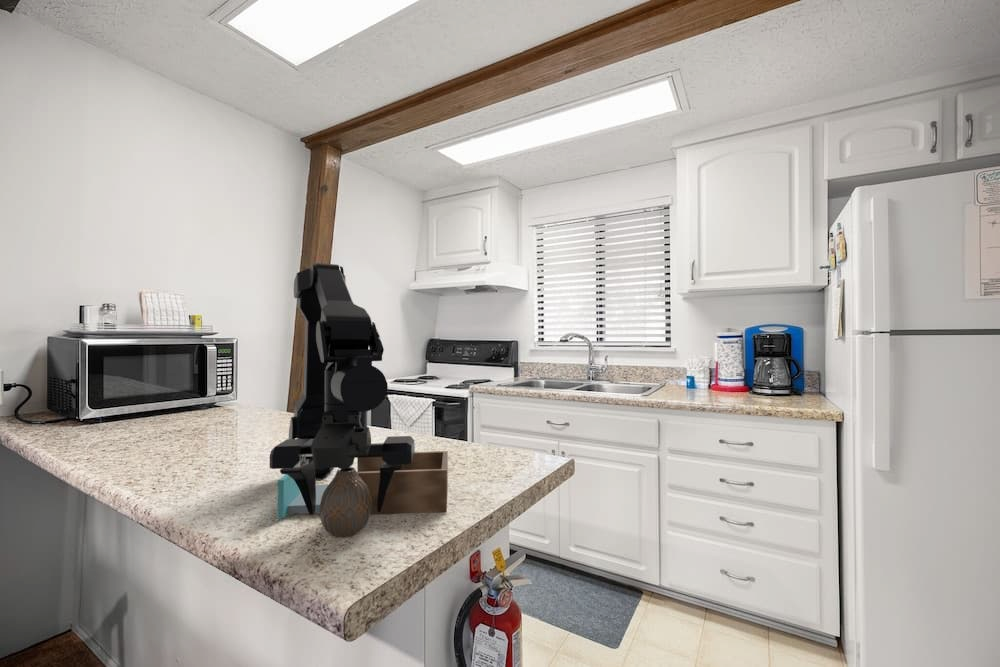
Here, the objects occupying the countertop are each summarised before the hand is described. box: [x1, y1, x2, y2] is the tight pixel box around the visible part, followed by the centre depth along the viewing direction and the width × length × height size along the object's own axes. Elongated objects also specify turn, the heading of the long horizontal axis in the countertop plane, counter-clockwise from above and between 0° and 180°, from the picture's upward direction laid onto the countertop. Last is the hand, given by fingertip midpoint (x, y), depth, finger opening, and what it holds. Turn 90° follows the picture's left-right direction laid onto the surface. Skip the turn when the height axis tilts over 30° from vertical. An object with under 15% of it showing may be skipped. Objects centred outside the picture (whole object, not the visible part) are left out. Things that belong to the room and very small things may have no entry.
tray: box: [277, 474, 329, 520], centre depth 73 cm, size 16×13×6 cm
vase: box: [319, 466, 372, 539], centre depth 62 cm, size 7×7×9 cm
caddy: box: [356, 450, 449, 516], centre depth 74 cm, size 16×12×6 cm
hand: (346, 512), depth 62 cm, fingers open, 9 cm apart
